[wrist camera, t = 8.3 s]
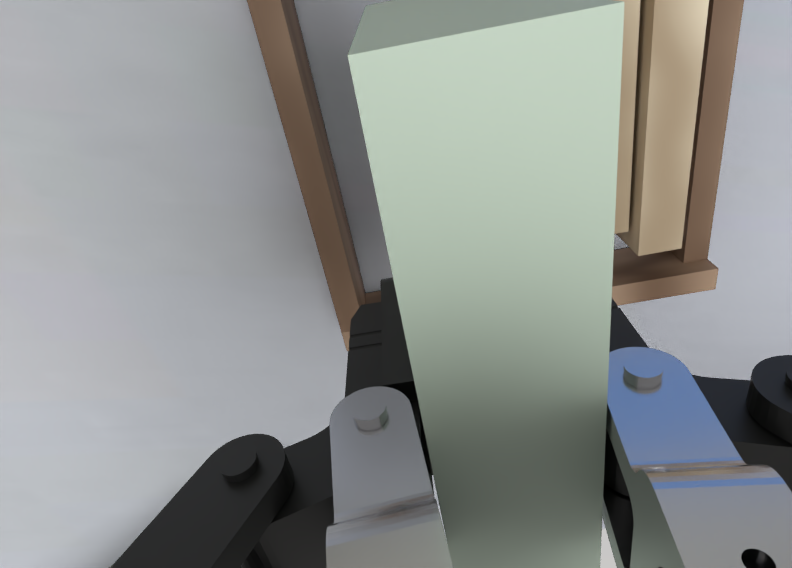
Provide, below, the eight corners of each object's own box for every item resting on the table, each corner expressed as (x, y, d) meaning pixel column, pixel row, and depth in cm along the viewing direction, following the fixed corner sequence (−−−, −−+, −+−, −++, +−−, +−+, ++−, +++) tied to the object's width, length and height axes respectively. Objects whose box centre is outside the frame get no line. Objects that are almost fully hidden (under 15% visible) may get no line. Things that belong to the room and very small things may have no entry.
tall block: (466, -15, 12) (624, 1, 4) (502, 375, 18) (595, 671, 10) (365, 5, 12) (348, 55, 5) (434, 386, 18) (476, 685, 11)
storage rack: (729, -193, 20) (794, -224, 17) (679, 257, 29) (715, 289, 26) (241, -87, 21) (219, -98, 18) (349, 314, 30) (346, 350, 27)
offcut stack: (654, -77, 22) (719, -90, 18) (637, 211, 28) (681, 248, 24) (554, -57, 22) (595, -64, 18) (559, 225, 28) (591, 264, 24)
